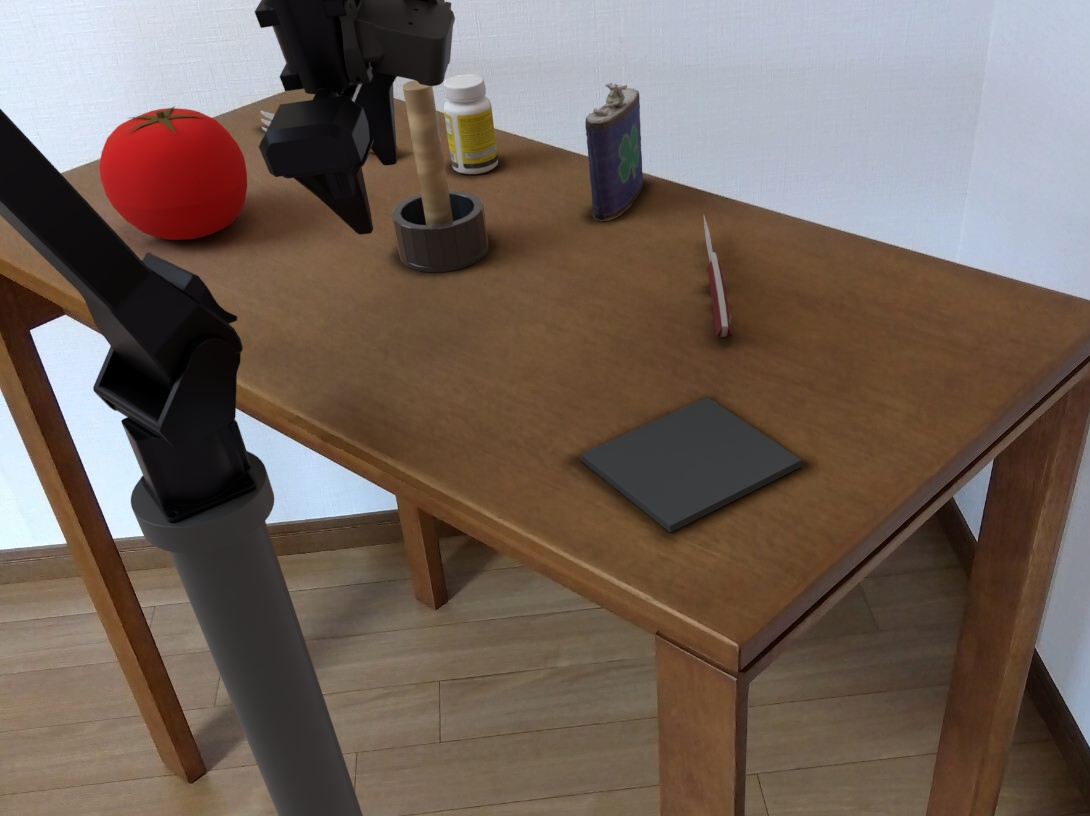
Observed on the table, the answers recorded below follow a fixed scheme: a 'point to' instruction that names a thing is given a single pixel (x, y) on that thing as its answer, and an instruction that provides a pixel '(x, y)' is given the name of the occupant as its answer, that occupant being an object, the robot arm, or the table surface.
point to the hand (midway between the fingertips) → (378, 197)
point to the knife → (717, 291)
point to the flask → (615, 152)
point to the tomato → (174, 174)
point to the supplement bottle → (469, 125)
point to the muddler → (428, 152)
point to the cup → (441, 234)
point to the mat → (690, 463)
